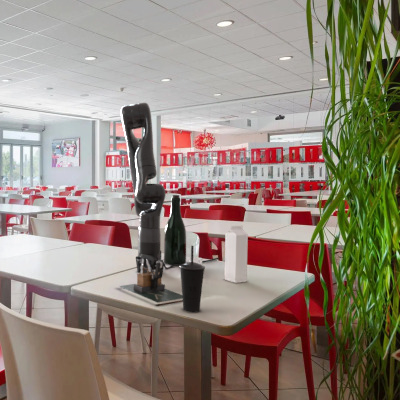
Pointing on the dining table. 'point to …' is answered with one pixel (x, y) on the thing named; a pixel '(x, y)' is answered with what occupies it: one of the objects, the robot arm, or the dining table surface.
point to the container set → (196, 260)
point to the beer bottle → (175, 235)
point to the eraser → (147, 283)
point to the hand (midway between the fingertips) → (149, 287)
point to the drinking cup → (191, 284)
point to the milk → (236, 255)
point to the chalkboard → (157, 295)
